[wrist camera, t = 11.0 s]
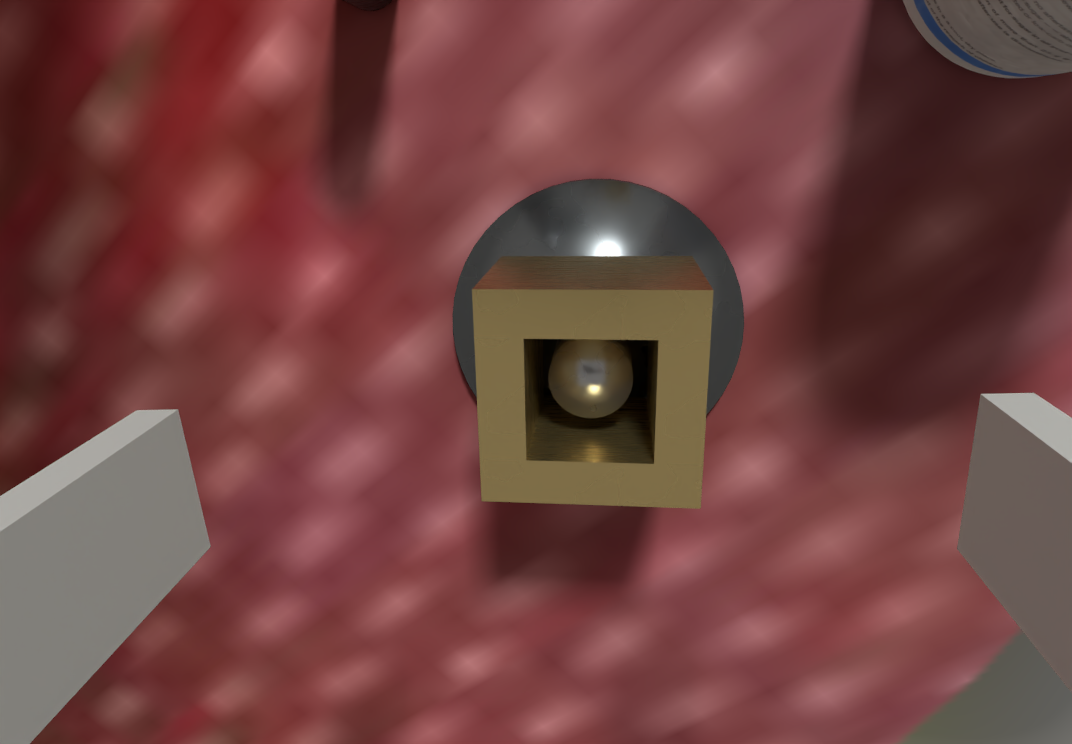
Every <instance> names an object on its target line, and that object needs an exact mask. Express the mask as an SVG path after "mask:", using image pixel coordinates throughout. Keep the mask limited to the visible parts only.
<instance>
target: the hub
mask: <svg viewBox="0 0 1072 744" xmlns="http://www.w3.org/2000/svg"><path fill="white" fill-rule="evenodd" d="M501 256H693V258H694V259H695V261H696V263H697V264H698V266H699V267H700V269H701V271H702V272H703V274H704V276H705V277H706V279H707V280H708V282H709V284H710V285H711V287H712V289H713V307H712V324H711V341H710V358H709V374H708V391H707V408H706V414H707V413H708V412H709V411H710V410H711V409H712V408H713V406H714V405H715V404H716V402H717V401H718V400H719V398H720V397H721V396H722V394H723V392H724V391H725V389H726V387H727V385H728V383H729V381H730V380H731V378H732V375H733V372H734V370H735V367H736V365H737V362H738V358H739V354H740V350H741V346H742V340H743V329H744V313H743V302H742V296H741V291H740V286H739V283H738V280H737V277H736V274H735V271H734V268H733V266H732V264H731V262H730V260H729V258H728V256H727V254H726V252H725V250H724V249H723V247H722V246H721V244H720V243H719V241H718V240H717V238H716V237H715V236H714V234H713V233H712V232H711V231H710V230H709V229H708V228H707V227H706V225H705V224H704V223H703V222H702V221H701V220H700V219H699V218H698V217H697V216H695V215H694V214H693V213H692V212H691V211H689V210H688V209H687V208H686V207H685V206H683V205H682V204H680V203H678V202H677V201H675V200H674V199H672V198H670V197H669V196H667V195H665V194H663V193H660V192H658V191H656V190H654V189H651V188H649V187H646V186H642V185H639V184H635V183H632V182H627V181H620V180H614V179H584V180H576V181H570V182H566V183H562V184H558V185H554V186H551V187H548V188H546V189H544V190H541V191H539V192H536V193H534V194H532V195H530V196H529V197H527V198H525V199H524V200H522V201H520V202H518V203H517V204H515V205H514V206H513V207H511V208H510V209H509V210H508V211H506V212H505V213H504V214H502V215H501V216H500V217H499V218H498V219H497V220H496V221H495V222H494V223H493V224H492V225H491V226H490V227H489V228H488V229H487V230H486V231H485V233H484V234H483V235H482V237H481V238H480V239H479V241H478V242H477V243H476V245H475V246H474V248H473V250H472V251H471V253H470V255H469V257H468V259H467V261H466V262H465V265H464V267H463V270H462V273H461V275H460V278H459V281H458V285H457V289H456V293H455V297H454V307H453V335H454V341H455V348H456V353H457V356H458V359H459V362H460V366H461V369H462V371H463V373H464V376H465V378H466V380H467V382H468V384H469V386H470V388H471V389H472V391H473V393H474V394H475V396H476V397H477V389H476V367H475V345H474V323H473V301H472V289H473V288H474V286H475V285H476V284H477V283H478V282H479V281H480V280H481V279H482V278H483V276H484V275H485V274H486V273H487V272H488V271H489V270H490V269H491V267H492V266H493V265H494V264H495V263H496V262H497V261H498V260H499V259H500V257H501ZM647 356H648V340H594V339H543V376H544V395H546V396H553V397H554V399H555V400H556V401H557V403H558V404H559V405H560V406H561V407H562V408H563V409H565V410H566V411H568V412H569V413H571V414H573V415H576V416H579V417H584V418H599V417H603V416H606V415H609V414H611V413H613V412H614V411H616V410H617V409H619V408H620V407H621V406H622V405H623V404H624V403H625V401H626V400H627V398H628V397H646V388H647Z"/></svg>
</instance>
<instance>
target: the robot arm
mask: <svg viewBox="0 0 1072 744" xmlns="http://www.w3.org/2000/svg"><path fill="white" fill-rule="evenodd" d="M210 547H211V546H210V542H209V538H208V533H207V529H206V525H205V521H204V517H203V512H202V508H201V504H200V500H199V496H198V491H197V487H196V483H195V479H194V475H193V470H192V466H191V462H190V458H189V454H188V449H187V445H186V441H185V437H184V432H183V428H182V424H181V420H180V416H179V411H178V409H177V410H136V411H135V412H133V413H132V414H130V415H128V416H127V417H125V418H124V419H122V420H121V421H119V422H117V423H116V424H114V425H113V426H111V427H109V428H108V429H106V430H105V431H103V432H101V433H100V434H98V435H97V436H95V437H93V438H92V439H90V440H89V441H87V442H86V443H84V444H82V445H81V446H79V447H78V448H76V449H74V450H73V451H71V452H70V453H68V454H66V455H65V456H63V457H62V458H60V459H59V460H57V461H55V462H54V463H52V464H51V465H49V466H47V467H46V468H44V469H43V470H41V471H39V472H38V473H36V474H35V475H33V476H31V477H30V478H28V479H27V480H25V481H24V482H22V483H20V484H19V485H17V486H16V487H14V488H12V489H11V490H9V491H8V492H6V493H4V494H3V495H1V496H0V744H30V743H31V742H32V741H33V740H34V738H35V737H36V736H37V735H38V734H39V733H40V732H41V731H42V730H43V729H44V728H45V726H46V725H47V724H48V723H49V722H50V721H51V720H52V719H53V718H54V717H55V716H56V715H57V713H58V712H59V711H60V710H61V709H62V708H63V707H64V706H65V705H66V704H67V703H68V701H69V700H70V699H71V698H72V697H73V696H74V695H75V694H76V693H77V692H78V691H79V690H80V688H81V687H82V686H83V685H84V684H85V683H86V682H87V681H88V680H89V679H90V678H91V676H92V675H93V674H94V673H95V672H96V671H97V670H98V669H99V668H100V667H101V666H102V665H103V663H104V662H105V661H106V660H107V659H108V658H109V657H110V656H111V655H112V654H113V653H114V651H115V650H116V649H117V648H118V647H119V646H120V645H121V644H122V643H123V642H124V641H125V639H126V638H127V637H128V636H129V635H130V634H131V633H132V632H133V631H134V630H135V629H136V628H137V626H138V625H139V624H140V623H141V622H142V621H143V620H144V619H145V618H146V617H147V616H148V614H149V613H150V612H151V611H152V610H153V609H154V608H155V607H156V606H157V605H158V604H159V603H160V601H161V600H162V599H163V598H164V597H165V596H166V595H167V594H168V593H169V592H170V591H171V589H172V588H173V587H174V586H175V585H176V584H177V583H178V582H179V581H180V580H181V579H182V577H183V576H184V575H185V574H186V573H187V572H188V571H189V570H190V569H191V568H192V567H193V566H194V564H195V563H196V562H197V561H198V560H199V559H200V558H201V557H202V556H203V555H204V554H205V552H206V551H207V550H208V549H209V548H210ZM957 549H958V550H959V552H960V553H961V554H962V555H963V557H964V558H965V559H966V561H967V562H968V563H969V564H970V566H971V567H972V568H973V569H974V571H975V572H976V573H977V574H978V576H979V577H980V578H981V579H982V581H983V582H984V583H985V584H986V586H987V587H988V588H989V589H990V591H991V592H992V593H993V594H994V596H995V597H996V598H997V599H998V601H999V602H1000V603H1001V604H1002V606H1003V607H1004V608H1005V610H1006V611H1007V612H1008V613H1009V615H1010V616H1011V617H1012V618H1013V620H1014V621H1015V622H1016V623H1017V625H1018V626H1019V627H1020V628H1021V630H1022V631H1023V632H1024V633H1025V635H1026V636H1027V637H1028V638H1029V640H1030V641H1031V642H1032V643H1033V645H1034V646H1035V647H1036V648H1037V650H1038V651H1039V652H1040V653H1041V655H1042V656H1043V657H1044V658H1045V660H1046V661H1047V662H1048V664H1049V665H1050V666H1051V667H1052V669H1053V670H1054V671H1055V672H1056V674H1057V675H1058V676H1059V677H1060V679H1061V680H1062V681H1063V682H1064V684H1065V685H1066V686H1067V687H1068V689H1069V690H1070V691H1071V692H1072V418H1071V417H1069V416H1068V415H1066V414H1065V413H1063V412H1062V411H1060V410H1059V409H1057V408H1056V407H1054V406H1053V405H1051V404H1050V403H1048V402H1047V401H1045V400H1044V399H1042V398H1041V397H1039V396H1038V395H1036V394H1035V393H1005V394H981V395H980V401H979V408H978V414H977V421H976V428H975V434H974V441H973V447H972V454H971V461H970V467H969V474H968V480H967V487H966V493H965V500H964V507H963V513H962V520H961V526H960V533H959V539H958V546H957Z"/></svg>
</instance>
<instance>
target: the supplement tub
mask: <svg viewBox="0 0 1072 744" xmlns="http://www.w3.org/2000/svg"><path fill="white" fill-rule="evenodd" d="M903 3H904V5H905V7H906V10H907V12H908V15H909V17H910V18H911V20H912V22H913V23H914V25H915V27H916V28H917V30H918V31H919V32H920V34H921V35H922V36H923V37H924V39H925V40H926V41H927V42H928V43H929V44H930V45H931V46H932V47H933V48H934V49H936V50H937V51H938V52H939V53H940V54H942V55H943V56H944V57H946V58H947V59H949V60H950V61H952V62H953V63H955V64H957V65H959V66H961V67H964V68H966V69H968V70H970V71H974V72H977V73H981V74H984V75H989V76H994V77H1001V78H1032V77H1040V76H1047V75H1055V74H1061V73H1067V72H1072V0H903Z"/></svg>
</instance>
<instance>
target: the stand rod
mask: <svg viewBox="0 0 1072 744" xmlns="http://www.w3.org/2000/svg"><path fill="white" fill-rule="evenodd" d="M343 1H345V2H347V3H349V4H352V5H354V6H356V7H358V8H360V9H363V10H368V11H374V10H379V9H381V8H383V7H385V6H387V5H388V4H389V3H390V2H391V1H392V0H343Z"/></svg>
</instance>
